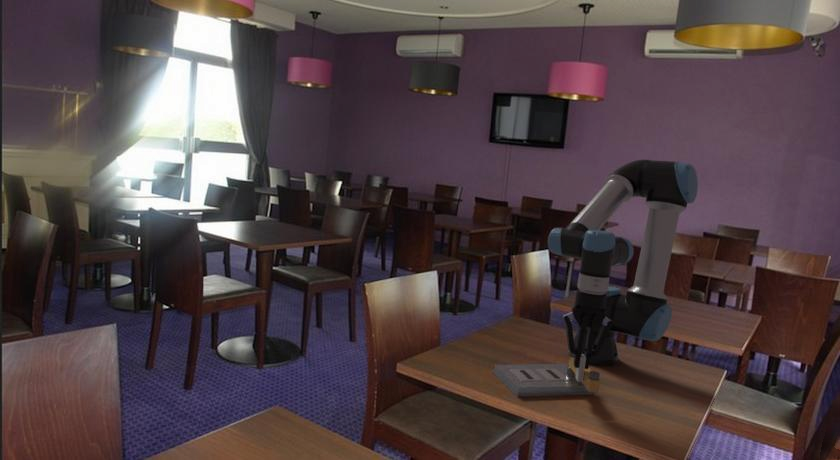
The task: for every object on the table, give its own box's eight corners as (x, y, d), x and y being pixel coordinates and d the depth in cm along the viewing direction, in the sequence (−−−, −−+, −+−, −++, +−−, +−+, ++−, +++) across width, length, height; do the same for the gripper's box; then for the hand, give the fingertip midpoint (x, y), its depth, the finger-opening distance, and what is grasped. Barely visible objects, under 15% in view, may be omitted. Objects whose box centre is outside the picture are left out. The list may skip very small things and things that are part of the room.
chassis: (563, 372, 176) (565, 357, 176) (592, 394, 161) (594, 378, 160) (493, 373, 170) (495, 357, 170) (517, 396, 155) (519, 379, 154)
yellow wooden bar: (565, 363, 169) (566, 347, 169) (577, 364, 169) (579, 348, 169) (586, 391, 149) (589, 374, 149) (601, 392, 150) (603, 375, 149)
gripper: (569, 291, 149) (556, 382, 152) (621, 297, 149) (607, 388, 151) (563, 285, 156) (551, 371, 159) (613, 290, 156) (600, 377, 159)
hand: (579, 379), depth 155 cm, fingers closed
